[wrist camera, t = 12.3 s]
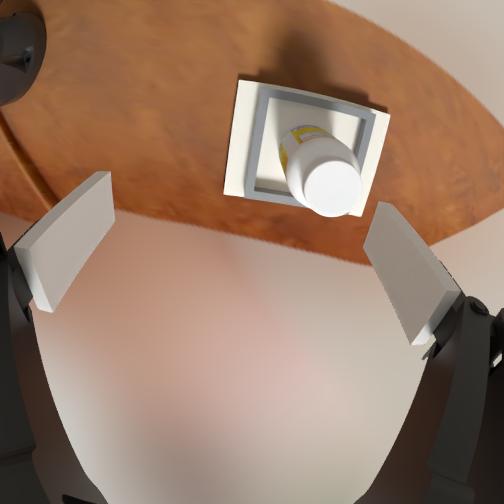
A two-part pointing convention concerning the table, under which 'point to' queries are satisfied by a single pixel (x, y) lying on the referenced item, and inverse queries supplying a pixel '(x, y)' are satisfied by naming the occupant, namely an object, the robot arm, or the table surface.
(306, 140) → the supplement bottle
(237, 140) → the board
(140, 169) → the table surface
